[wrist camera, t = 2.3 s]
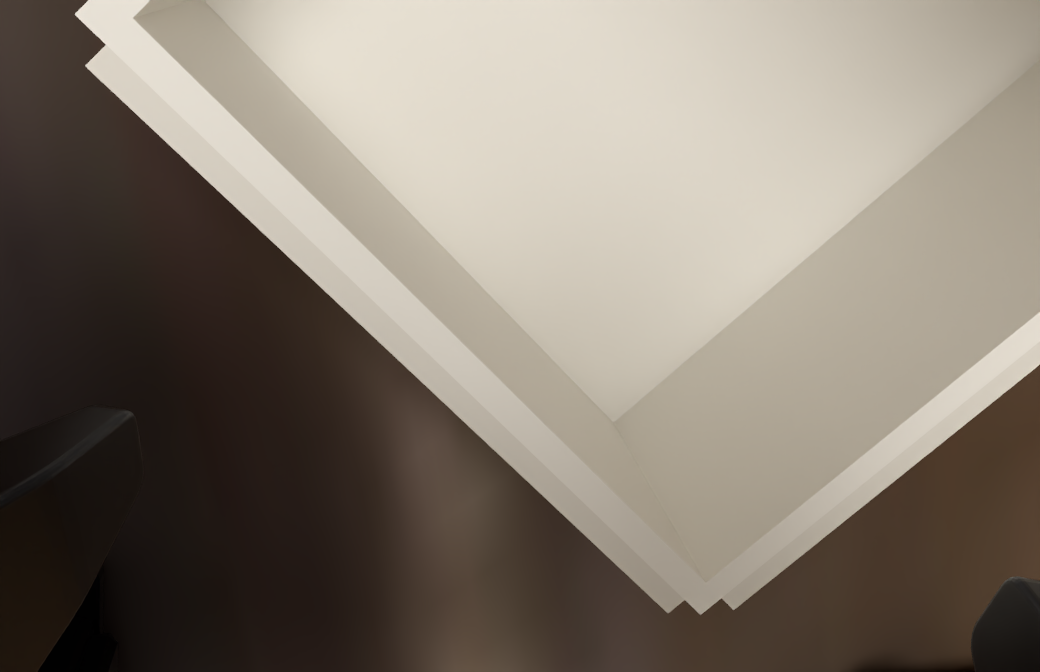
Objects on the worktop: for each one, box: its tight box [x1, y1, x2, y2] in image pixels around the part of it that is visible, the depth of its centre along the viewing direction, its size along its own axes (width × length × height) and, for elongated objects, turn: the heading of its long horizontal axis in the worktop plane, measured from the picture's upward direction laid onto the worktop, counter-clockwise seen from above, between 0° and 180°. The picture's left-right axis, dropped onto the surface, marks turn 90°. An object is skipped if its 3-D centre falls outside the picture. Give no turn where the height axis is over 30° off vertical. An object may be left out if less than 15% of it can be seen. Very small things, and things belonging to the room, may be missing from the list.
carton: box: [75, 0, 1040, 615], centre depth 17 cm, size 16×15×7 cm
